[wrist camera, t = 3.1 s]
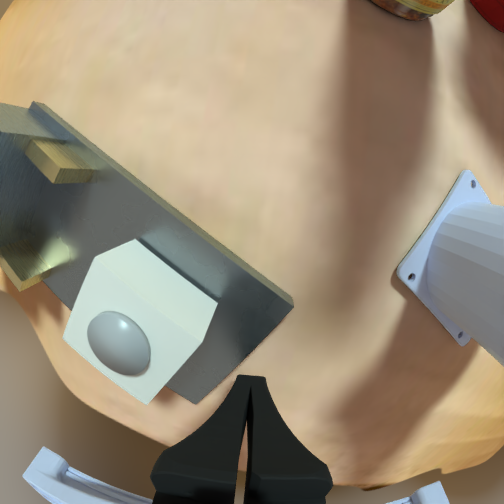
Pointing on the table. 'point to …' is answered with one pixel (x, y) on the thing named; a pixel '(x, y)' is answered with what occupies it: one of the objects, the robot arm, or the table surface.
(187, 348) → the white button box
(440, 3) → the sauce bottle
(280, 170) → the table surface
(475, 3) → the plastic cup
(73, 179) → the base
